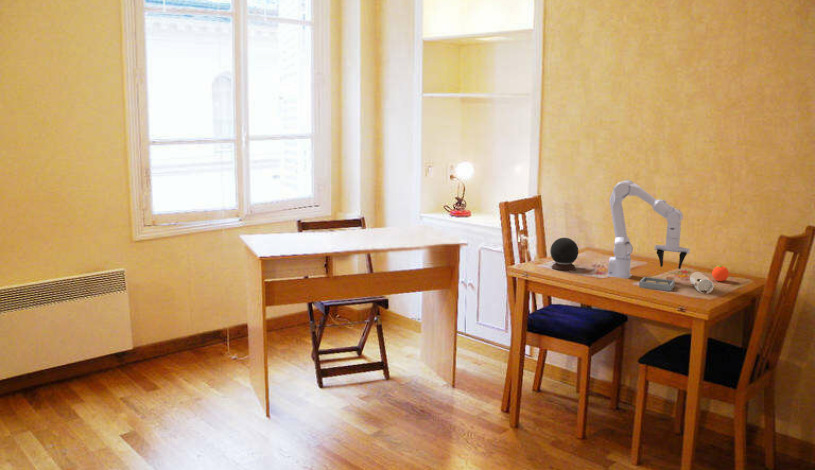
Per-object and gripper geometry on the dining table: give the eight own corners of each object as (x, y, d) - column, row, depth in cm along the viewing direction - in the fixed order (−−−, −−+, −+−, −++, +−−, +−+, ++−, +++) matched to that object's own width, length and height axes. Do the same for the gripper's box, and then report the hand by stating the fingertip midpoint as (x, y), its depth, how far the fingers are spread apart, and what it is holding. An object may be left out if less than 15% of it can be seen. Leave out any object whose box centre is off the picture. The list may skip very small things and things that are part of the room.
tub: (638, 288, 326) (639, 281, 326) (643, 283, 335) (644, 276, 334) (670, 292, 320) (670, 285, 320) (674, 287, 329) (674, 280, 328)
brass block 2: (658, 287, 326) (658, 283, 325) (657, 286, 327) (657, 282, 327) (667, 288, 325) (668, 283, 325) (667, 287, 327) (667, 282, 326)
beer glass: (706, 284, 332) (715, 292, 317) (689, 287, 333) (698, 295, 318) (703, 269, 331) (712, 276, 316) (687, 272, 332) (695, 279, 317)
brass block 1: (645, 285, 329) (645, 281, 328) (646, 284, 330) (646, 280, 330) (655, 287, 327) (655, 282, 326) (656, 286, 328) (656, 281, 328)
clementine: (706, 279, 343) (707, 264, 341) (717, 278, 345) (719, 262, 344) (719, 283, 335) (721, 268, 334) (731, 282, 338) (733, 266, 337)
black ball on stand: (575, 272, 353) (576, 241, 350) (547, 270, 358) (548, 239, 355) (579, 266, 365) (581, 236, 362) (552, 264, 370) (553, 234, 367)
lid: (644, 284, 335) (645, 275, 335) (649, 279, 344) (649, 271, 343) (675, 288, 329) (675, 279, 328) (679, 283, 337) (679, 274, 337)
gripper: (654, 237, 331) (651, 267, 333) (688, 240, 324) (686, 271, 327) (657, 234, 337) (655, 264, 340) (691, 238, 330) (688, 268, 333)
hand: (670, 267), depth 333 cm, fingers open, 7 cm apart
